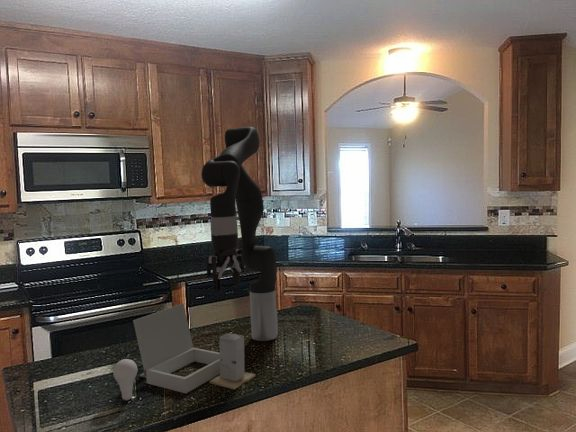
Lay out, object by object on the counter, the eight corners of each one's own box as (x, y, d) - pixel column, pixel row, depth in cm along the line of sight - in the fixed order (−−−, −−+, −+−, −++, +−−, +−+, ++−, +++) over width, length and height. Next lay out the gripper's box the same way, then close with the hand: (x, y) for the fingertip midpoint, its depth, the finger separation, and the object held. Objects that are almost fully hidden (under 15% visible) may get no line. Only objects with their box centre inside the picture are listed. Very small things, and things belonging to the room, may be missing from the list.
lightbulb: (142, 394, 133) (139, 355, 132) (135, 404, 127) (133, 363, 126) (119, 395, 133) (116, 356, 132) (112, 406, 127) (109, 364, 126)
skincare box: (219, 378, 140) (217, 337, 139) (229, 372, 144) (227, 332, 143) (237, 382, 137) (235, 339, 136) (246, 376, 141) (244, 335, 140)
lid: (193, 347, 157) (190, 347, 158) (183, 303, 157) (180, 303, 158) (145, 369, 140) (142, 370, 141) (134, 320, 140) (131, 320, 141)
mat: (231, 370, 147) (230, 368, 147) (255, 376, 142) (255, 374, 142) (209, 383, 138) (209, 381, 138) (234, 389, 134) (234, 387, 134)
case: (194, 359, 157) (193, 347, 157) (231, 367, 149) (230, 354, 149) (146, 383, 140) (145, 369, 140) (185, 393, 132) (185, 379, 132)
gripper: (229, 228, 146) (232, 282, 147) (197, 235, 134) (200, 293, 135) (249, 229, 142) (252, 284, 143) (218, 235, 130) (222, 295, 131)
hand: (227, 288), depth 139 cm, fingers open, 8 cm apart
